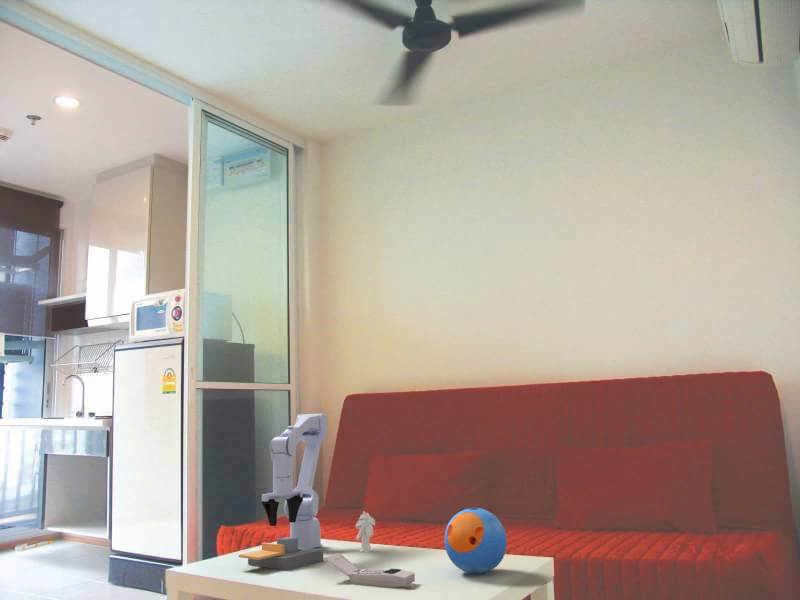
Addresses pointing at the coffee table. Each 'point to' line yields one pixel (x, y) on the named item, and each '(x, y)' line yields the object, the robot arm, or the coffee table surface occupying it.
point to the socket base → (291, 559)
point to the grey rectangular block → (289, 544)
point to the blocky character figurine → (365, 531)
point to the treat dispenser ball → (475, 541)
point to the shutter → (265, 551)
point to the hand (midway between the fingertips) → (282, 524)
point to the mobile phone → (372, 574)
